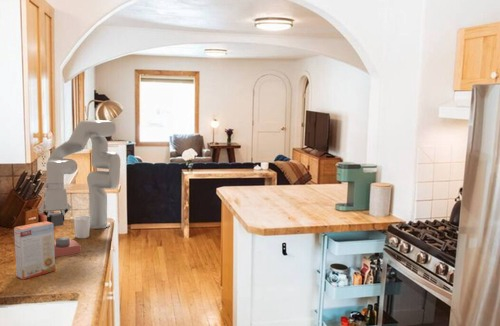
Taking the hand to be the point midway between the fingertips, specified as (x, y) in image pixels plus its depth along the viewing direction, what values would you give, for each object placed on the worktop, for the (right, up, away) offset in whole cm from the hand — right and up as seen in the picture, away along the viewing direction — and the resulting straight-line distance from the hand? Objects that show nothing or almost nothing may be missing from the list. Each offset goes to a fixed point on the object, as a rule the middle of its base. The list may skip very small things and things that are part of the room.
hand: (55, 223), depth 230 cm
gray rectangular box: (0, -1, 0) cm, 1 cm away
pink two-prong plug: (+3, -13, -2) cm, 13 cm away
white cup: (+6, -10, +20) cm, 23 cm away
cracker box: (+5, -17, -33) cm, 37 cm away
